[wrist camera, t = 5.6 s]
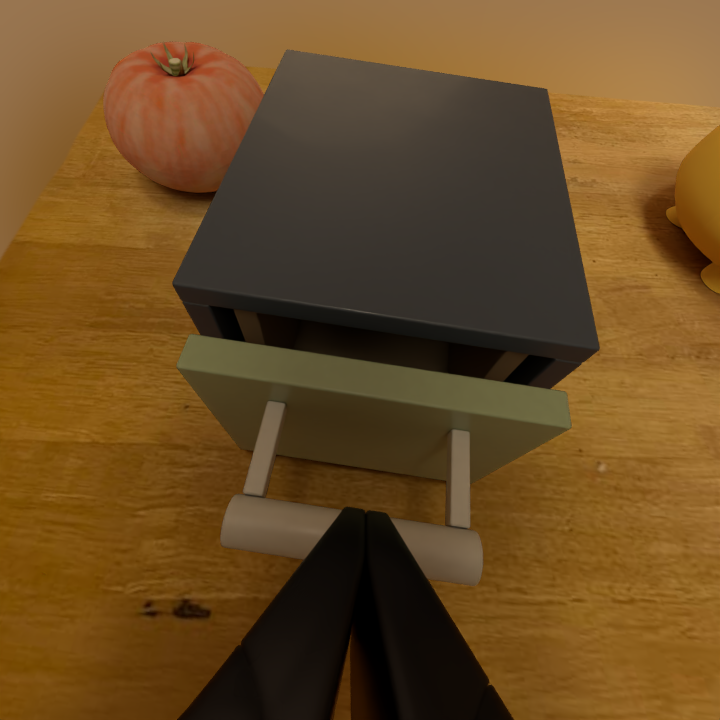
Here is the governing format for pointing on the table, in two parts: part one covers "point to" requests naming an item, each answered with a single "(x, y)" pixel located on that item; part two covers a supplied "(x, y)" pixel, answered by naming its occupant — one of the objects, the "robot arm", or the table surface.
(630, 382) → the table surface
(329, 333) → the drawer
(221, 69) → the tomato
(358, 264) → the cabinet
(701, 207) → the teapot
